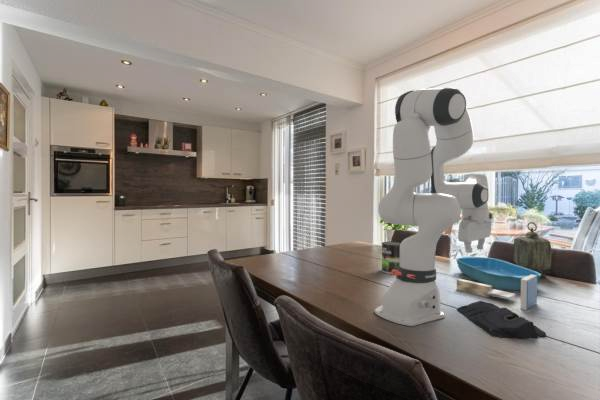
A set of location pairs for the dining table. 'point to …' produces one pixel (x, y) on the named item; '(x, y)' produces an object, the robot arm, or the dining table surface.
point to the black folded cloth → (500, 321)
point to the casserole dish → (495, 272)
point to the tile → (528, 291)
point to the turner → (482, 289)
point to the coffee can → (390, 256)
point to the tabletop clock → (532, 251)
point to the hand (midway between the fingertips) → (474, 250)
